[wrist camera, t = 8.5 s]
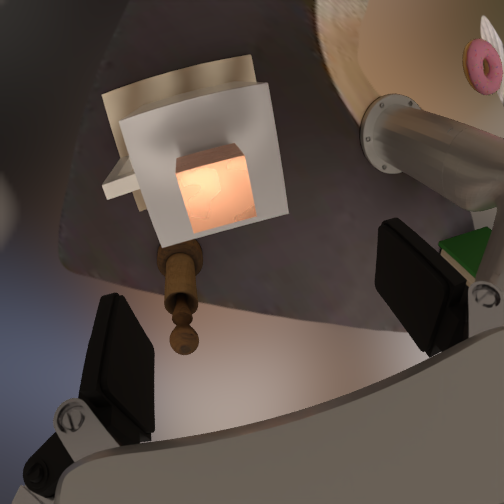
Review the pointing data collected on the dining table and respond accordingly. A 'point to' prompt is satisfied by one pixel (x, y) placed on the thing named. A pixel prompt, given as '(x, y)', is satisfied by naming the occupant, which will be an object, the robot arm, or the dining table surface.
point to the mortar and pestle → (181, 291)
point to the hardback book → (466, 252)
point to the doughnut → (473, 66)
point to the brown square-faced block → (215, 187)
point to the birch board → (171, 93)
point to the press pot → (195, 140)
